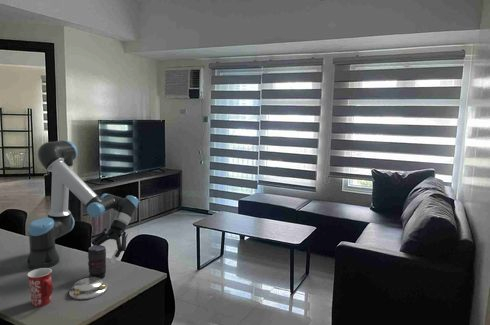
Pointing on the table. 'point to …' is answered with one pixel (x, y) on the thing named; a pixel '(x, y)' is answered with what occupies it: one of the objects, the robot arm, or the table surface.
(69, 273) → the table surface
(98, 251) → the camera lens
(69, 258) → the table surface
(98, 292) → the base
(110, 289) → the table surface
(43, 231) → the robot arm
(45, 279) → the mug
